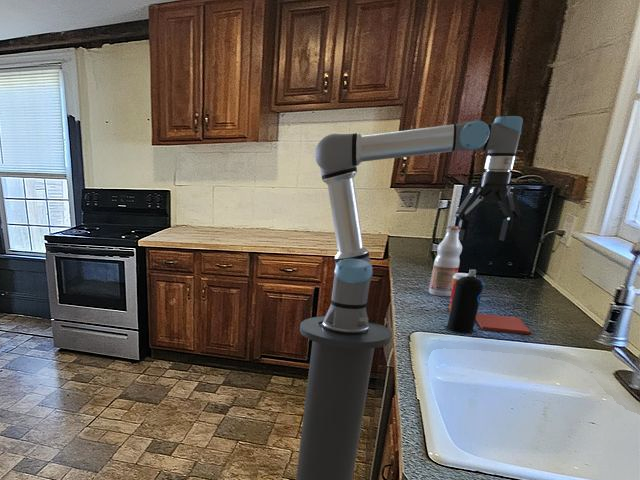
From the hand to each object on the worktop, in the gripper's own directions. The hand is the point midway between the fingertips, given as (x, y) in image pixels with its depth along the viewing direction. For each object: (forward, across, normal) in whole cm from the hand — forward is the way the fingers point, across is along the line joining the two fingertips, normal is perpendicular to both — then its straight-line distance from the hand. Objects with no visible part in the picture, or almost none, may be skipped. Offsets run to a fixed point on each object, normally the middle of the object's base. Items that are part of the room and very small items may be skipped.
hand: (482, 240), depth 171 cm
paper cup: (+29, +8, +17) cm, 34 cm away
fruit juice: (+29, +16, +45) cm, 56 cm away
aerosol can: (+29, -4, -5) cm, 30 cm away
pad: (+29, +13, 0) cm, 32 cm away
